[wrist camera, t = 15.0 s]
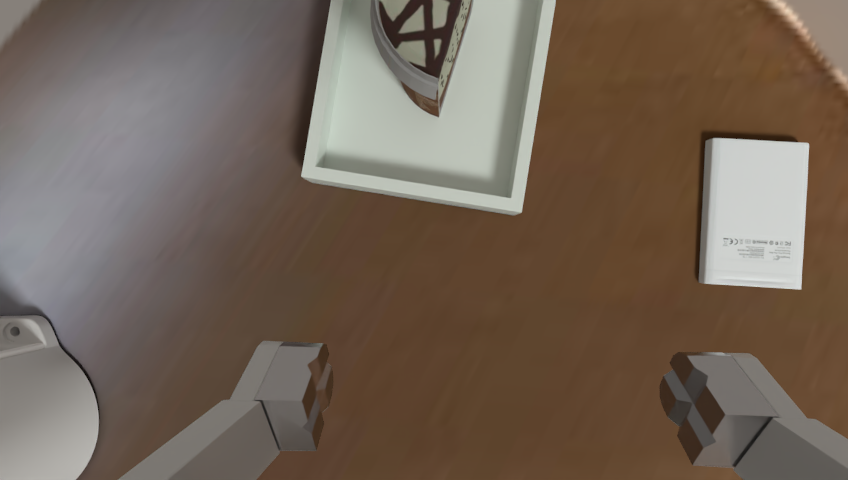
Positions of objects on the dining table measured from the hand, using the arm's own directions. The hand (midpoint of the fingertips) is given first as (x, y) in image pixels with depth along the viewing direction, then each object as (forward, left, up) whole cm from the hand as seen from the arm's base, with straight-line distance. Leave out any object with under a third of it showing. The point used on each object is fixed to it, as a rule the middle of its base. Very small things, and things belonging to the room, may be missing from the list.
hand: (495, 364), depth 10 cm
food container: (-5, +19, -25) cm, 31 cm away
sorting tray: (-4, +18, -25) cm, 32 cm away
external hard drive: (+25, +10, -26) cm, 37 cm away
